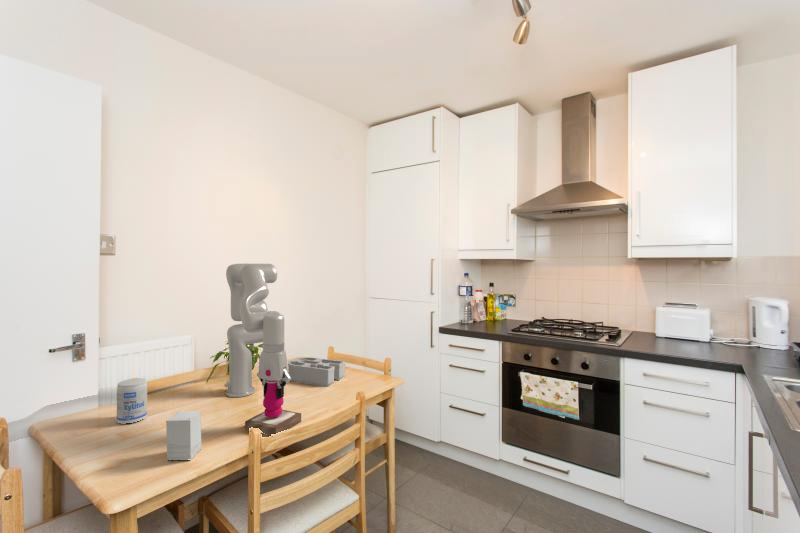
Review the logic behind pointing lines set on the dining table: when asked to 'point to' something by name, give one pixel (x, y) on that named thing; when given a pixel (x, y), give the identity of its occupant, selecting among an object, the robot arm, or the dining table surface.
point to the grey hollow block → (316, 370)
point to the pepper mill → (272, 399)
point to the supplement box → (183, 435)
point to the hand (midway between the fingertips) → (273, 396)
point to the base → (274, 422)
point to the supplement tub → (131, 400)
